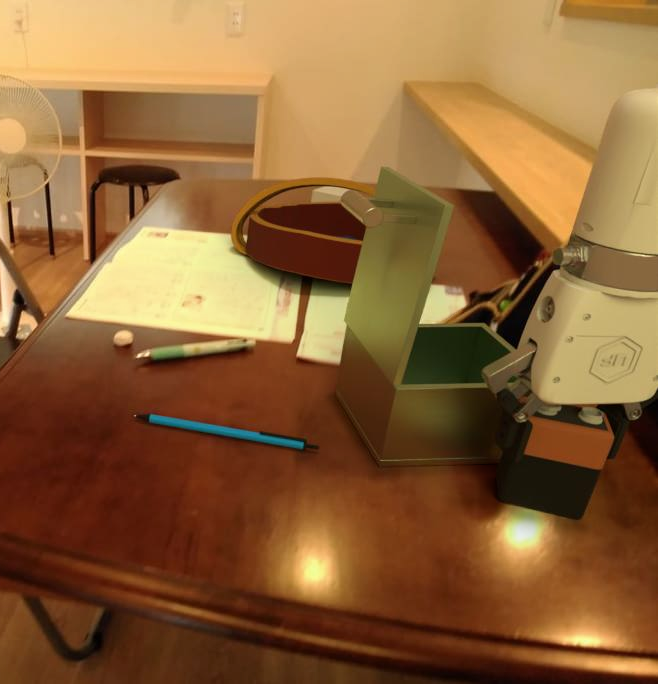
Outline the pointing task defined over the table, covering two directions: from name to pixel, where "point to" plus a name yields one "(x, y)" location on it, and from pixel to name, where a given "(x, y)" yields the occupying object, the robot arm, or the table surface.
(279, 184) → the decorative basket
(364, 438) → the bin
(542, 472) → the battery
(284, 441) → the pen
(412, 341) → the bin lid
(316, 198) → the white cube
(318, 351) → the table surface
